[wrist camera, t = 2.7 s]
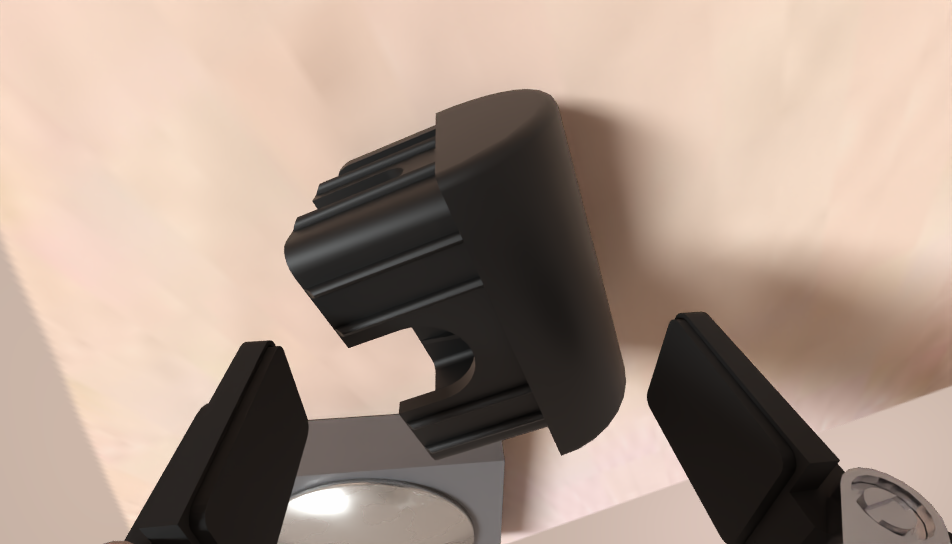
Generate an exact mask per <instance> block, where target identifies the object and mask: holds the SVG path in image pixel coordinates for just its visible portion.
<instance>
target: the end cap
mask: <svg viewBox="0 0 952 544" xmlns="http://www.w3.org/2000/svg"><path fill="white" fill-rule="evenodd" d="M313 203H314V204H315V206H316V207H317V210H315V211H312V212H310V213H307V214H305V215H302V216H300V217H297V219H296V222H295V225H294V230H293V232H292V233H291V235H290V236H289V238H288V239H287V241H286V243H285V246H284V254H285V259H286V262H287V265H288V267H289V270H290V271H291V273H292V274H293V276H294V277H295V279H296V280H297V281H298V283H299V284H300V285H301V287H302V288H303V289H304V291H305V292H306V293H307V295H308V296H309V297H310V298H311V300H312V301H313V302H314V304H315V305H316V306H317V308H318V309H319V310H320V312H321V313H322V314H323V315H324V317H325V318H326V319H327V321H328V322H329V323H330V325H331V326H332V327H333V329H334V330H335V331H336V332H337V334H338V335H339V336H340V338H341V339H342V340H343V342H344V343H345V344H346V346H347V347H348V348H351V347H353V346H356V345H359V344H362V343H365V342H367V341H370V340H373V339H376V338H379V337H382V336H384V335H387V334H390V333H393V332H396V331H399V330H402V329H406V328H410V327H412V328H413V330H414V331H415V333H416V335H417V336H418V338H419V340H420V341H421V343H422V344H423V346H424V348H425V349H426V351H427V352H428V354H429V356H430V357H431V359H432V360H433V362H434V365H435V370H436V384H435V391H432V392H429V393H426V394H423V395H420V396H417V397H414V398H411V399H408V400H405V401H402V402H400V407H399V415H400V416H401V418H402V419H403V420H404V422H405V423H406V424H407V425H408V427H409V428H410V429H411V431H412V432H413V433H414V435H415V436H416V437H417V439H418V440H419V441H420V442H421V444H422V445H423V446H424V448H425V449H426V450H427V452H428V453H429V454H430V456H431V457H432V458H433V459H434V460H440V459H443V458H446V457H449V456H453V455H456V454H459V453H463V452H466V451H469V450H472V449H476V448H479V447H482V446H485V445H489V444H492V443H495V442H499V441H502V440H505V439H508V438H512V437H515V436H518V435H522V434H525V433H528V432H531V431H535V430H538V429H541V428H545V427H548V428H549V430H550V432H551V434H552V437H553V439H554V441H555V443H556V445H557V447H558V450H559V452H560V454H561V456H562V455H564V454H567V453H569V452H572V451H574V450H577V449H579V448H581V447H582V446H584V445H586V444H587V443H589V442H590V441H592V440H593V439H595V438H596V437H597V436H598V435H599V434H600V433H601V432H602V431H603V430H604V429H605V428H606V427H607V426H608V425H609V424H610V422H611V421H612V419H613V418H614V417H615V415H616V414H617V412H618V410H619V407H620V405H621V403H622V400H623V398H624V392H625V385H626V377H625V367H624V363H623V359H622V355H621V352H620V348H619V344H618V340H617V336H616V332H615V328H614V324H613V320H612V316H611V312H610V308H609V304H608V300H607V297H606V293H605V289H604V285H603V281H602V277H601V273H600V269H599V265H598V261H597V257H596V253H595V249H594V245H593V241H592V238H591V234H590V230H589V226H588V222H587V218H586V214H585V210H584V206H583V202H582V198H581V194H580V190H579V186H578V183H577V179H576V175H575V171H574V167H573V163H572V159H571V155H570V151H569V147H568V143H567V139H566V135H565V131H564V128H563V124H562V120H561V116H560V112H559V108H558V105H557V103H556V102H555V100H554V98H553V97H552V96H551V95H549V94H547V93H545V92H542V91H540V90H531V89H522V90H511V91H505V92H500V93H496V94H492V95H488V96H484V97H480V98H477V99H474V100H471V101H468V102H465V103H462V104H459V105H456V106H453V107H451V108H448V109H446V110H443V111H441V112H438V113H436V125H435V126H432V127H430V128H428V129H425V130H423V131H420V132H418V133H416V134H413V135H411V136H408V137H406V138H404V139H401V140H399V141H396V142H394V143H392V144H389V145H387V146H384V147H382V148H380V149H377V150H375V151H373V152H370V153H368V154H365V155H363V156H361V157H358V158H356V159H353V160H351V161H349V162H348V163H346V164H345V165H344V166H343V167H342V169H341V170H340V172H339V176H338V177H335V178H333V179H330V180H328V181H326V182H323V183H321V184H320V185H319V187H318V190H317V194H316V196H315V198H314V199H313Z"/></svg>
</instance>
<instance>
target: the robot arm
mask: <svg viewBox="0 0 952 544" xmlns="http://www.w3.org/2000/svg"><path fill="white" fill-rule="evenodd" d="M647 401H648V405H649V407H650V409H651V411H652V413H653V415H654V417H655V418H656V420H657V422H658V424H659V426H660V427H661V429H662V431H663V433H664V435H665V437H666V438H667V440H668V442H669V444H670V446H671V447H672V449H673V451H674V453H675V455H676V457H677V458H678V460H679V462H680V464H681V466H682V468H683V469H684V471H685V473H686V475H687V477H688V478H689V480H690V482H691V484H692V485H693V487H694V489H695V491H696V493H697V495H698V496H699V498H700V500H701V502H702V504H703V506H704V508H705V509H706V511H707V513H708V515H709V517H710V518H711V520H712V522H713V524H714V526H715V527H716V529H717V531H718V533H719V535H720V536H721V538H722V540H724V542H725V543H727V544H952V533H950V532H948V531H947V528H946V526H945V524H944V521H943V519H942V517H941V516H940V515H939V514H938V512H937V511H936V510H935V508H934V507H933V506H932V504H930V503H929V502H928V501H927V500H926V499H925V498H924V497H923V496H922V495H921V494H919V493H918V492H917V491H916V490H914V489H913V488H911V487H910V486H908V485H907V484H905V483H904V482H902V481H900V480H898V479H896V478H894V477H892V476H890V475H888V474H886V473H883V472H880V471H877V470H874V469H869V468H860V467H858V468H853V469H849V470H847V471H846V472H844V471H843V469H842V468H841V467H840V466H839V465H838V462H839V461H840V460H839V459H838V458H837V457H836V455H835V454H834V453H833V452H832V451H831V450H830V449H829V448H828V447H827V445H826V444H825V443H824V442H823V441H822V440H821V439H820V438H819V437H818V436H817V434H816V433H815V432H814V431H813V430H812V429H811V428H810V427H809V426H808V424H807V423H806V422H805V421H804V420H803V419H802V418H801V417H800V416H799V415H798V413H797V412H796V411H795V410H794V409H793V408H792V407H791V406H790V405H789V403H788V402H787V401H786V400H785V399H784V398H783V397H782V396H781V395H780V394H779V392H778V391H777V390H776V389H775V388H774V387H773V386H772V385H771V384H770V382H769V381H768V380H767V379H766V378H765V377H764V376H763V375H762V374H761V373H760V371H759V370H758V369H757V368H756V367H755V366H754V365H753V364H752V363H751V362H750V360H749V359H748V358H747V357H746V356H745V355H744V354H743V353H742V352H741V350H740V349H739V348H738V347H737V346H736V345H735V344H734V343H733V342H732V341H731V339H730V338H729V337H728V336H727V335H726V334H725V333H724V332H723V331H722V329H721V328H720V327H719V326H718V325H717V324H716V323H715V322H714V321H713V320H712V318H711V317H710V316H709V315H708V314H706V313H705V312H691V313H680V314H678V315H677V316H676V318H675V319H674V320H671V321H670V323H669V325H668V329H667V332H666V335H665V338H664V341H663V345H662V348H661V351H660V354H659V357H658V360H657V364H656V367H655V370H654V373H653V376H652V379H651V383H650V386H649V389H648V392H647ZM308 431H309V424H308V419H307V416H306V413H305V410H304V407H303V404H302V402H301V399H300V396H299V393H298V390H297V387H296V384H295V381H294V379H293V376H292V373H291V370H290V367H289V364H288V361H287V358H286V356H285V353H284V350H283V348H282V347H281V346H275V344H274V342H273V341H270V340H269V341H254V342H245V343H243V344H242V345H241V347H240V348H239V350H238V352H237V354H236V355H235V357H234V359H233V361H232V362H231V364H230V366H229V368H228V370H227V371H226V373H225V375H224V377H223V379H222V380H221V382H220V384H219V386H218V388H217V389H216V391H215V393H214V395H213V396H212V398H211V400H210V402H209V403H208V404H206V405H205V406H203V407H202V408H201V409H200V411H199V412H198V413H197V415H196V416H195V418H194V420H193V422H192V423H191V425H190V427H189V429H188V430H187V432H186V434H185V436H184V437H183V439H182V441H181V443H180V444H179V446H178V448H177V450H176V451H175V453H174V455H173V457H172V458H171V460H170V462H169V464H168V465H167V467H166V469H165V471H164V472H163V474H162V476H161V477H160V479H159V481H158V483H157V484H156V486H155V488H154V490H153V491H152V493H151V495H150V497H149V498H148V500H147V502H146V504H145V505H144V507H143V509H142V511H141V512H140V514H139V516H138V518H137V519H136V521H135V523H134V525H133V526H132V528H131V530H130V532H129V533H128V535H127V537H126V539H125V540H124V541H112V542H108V543H105V544H277V542H278V539H279V535H280V532H281V528H282V525H283V521H284V518H285V514H286V511H287V507H288V504H289V500H290V497H291V493H292V490H293V486H294V483H295V479H296V476H297V472H298V469H299V465H300V462H301V458H302V455H303V451H304V448H305V444H306V441H307V437H308Z"/></svg>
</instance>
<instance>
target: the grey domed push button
mask: <svg viewBox="0 0 952 544" xmlns="http://www.w3.org/2000/svg"><path fill="white" fill-rule="evenodd" d="M308 424H309V431H308V437H307V441H306V444H305V448H304V451H303V455H302V458H301V462H300V465H299V469H298V472H297V476H296V479H295V483H294V486H293V490H292V493H291V497H290V500H289V504H288V507H287V511H286V514H285V518H284V521H283V525H282V528H281V532H280V535H279V539H278V542H277V544H501V524H502V504H503V484H504V464H505V459H504V453H503V446H502V441H499V442H495V443H492V444H489V445H485V446H482V447H479V448H476V449H472V450H469V451H466V452H463V453H459V454H456V455H453V456H449V457H446V458H443V459H440V460H434V459H433V458H432V457H431V456H430V454H429V453H428V452H427V450H426V449H425V448H424V446H423V445H422V444H421V442H420V441H419V440H418V439H417V437H416V436H415V435H414V433H413V432H412V431H411V429H410V428H409V427H408V425H407V424H406V423H405V422H404V420H403V419H402V418H401V416H400V415H399V414H398V415H383V416H368V417H353V418H339V419H324V420H309V421H308Z"/></svg>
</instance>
